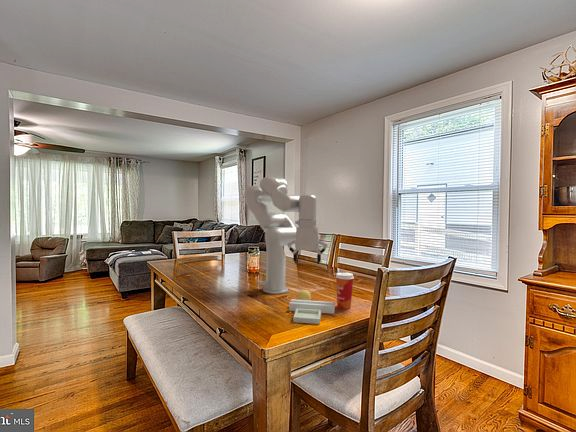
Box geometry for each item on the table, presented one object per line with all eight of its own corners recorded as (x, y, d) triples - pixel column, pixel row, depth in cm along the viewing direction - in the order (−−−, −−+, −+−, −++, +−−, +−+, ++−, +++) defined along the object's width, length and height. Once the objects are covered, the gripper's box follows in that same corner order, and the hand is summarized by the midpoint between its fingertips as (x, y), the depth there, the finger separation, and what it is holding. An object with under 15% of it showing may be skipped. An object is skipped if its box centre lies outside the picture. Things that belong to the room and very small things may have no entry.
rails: (289, 310, 121) (289, 303, 121) (291, 306, 126) (291, 299, 126) (334, 313, 118) (334, 306, 118) (334, 309, 123) (334, 302, 123)
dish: (293, 322, 109) (293, 317, 109) (296, 312, 118) (296, 308, 118) (319, 324, 107) (319, 319, 107) (320, 314, 117) (321, 310, 117)
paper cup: (332, 304, 130) (333, 272, 130) (350, 303, 131) (351, 272, 130) (337, 310, 122) (338, 276, 122) (355, 310, 123) (356, 276, 122)
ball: (296, 305, 127) (296, 291, 127) (297, 301, 133) (298, 287, 133) (310, 306, 126) (310, 292, 126) (311, 302, 132) (311, 288, 132)
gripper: (286, 223, 127) (285, 264, 127) (327, 224, 124) (327, 265, 124) (288, 223, 134) (288, 261, 134) (327, 223, 132) (327, 262, 132)
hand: (307, 263), depth 129 cm, fingers open, 9 cm apart
